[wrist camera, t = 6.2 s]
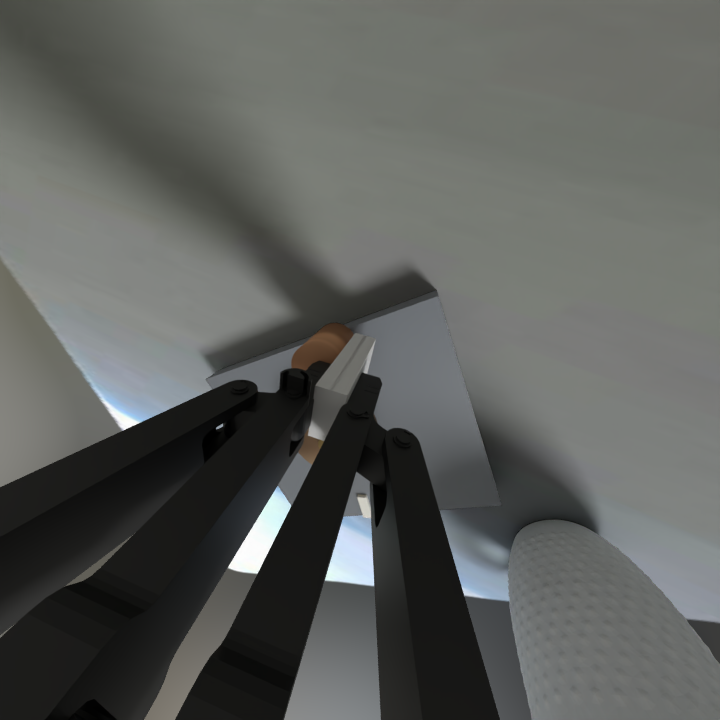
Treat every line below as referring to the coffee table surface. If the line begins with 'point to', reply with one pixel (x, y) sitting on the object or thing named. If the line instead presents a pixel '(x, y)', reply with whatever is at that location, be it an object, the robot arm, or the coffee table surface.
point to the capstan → (326, 350)
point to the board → (402, 403)
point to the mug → (602, 634)
